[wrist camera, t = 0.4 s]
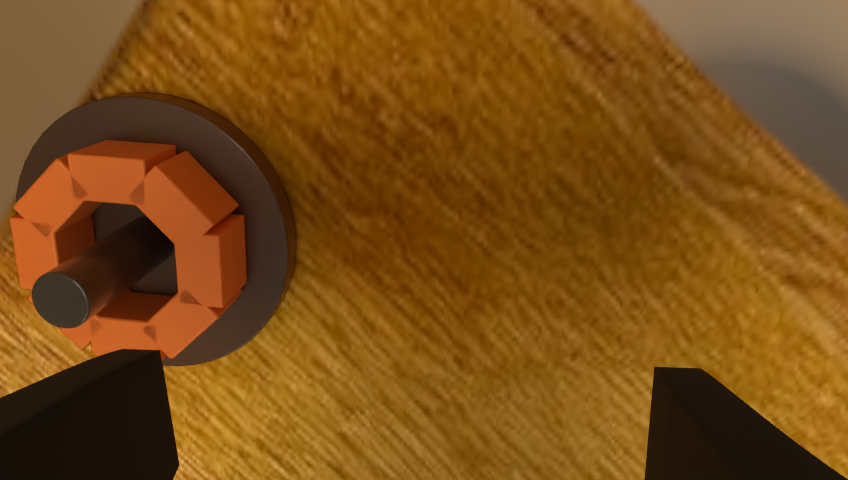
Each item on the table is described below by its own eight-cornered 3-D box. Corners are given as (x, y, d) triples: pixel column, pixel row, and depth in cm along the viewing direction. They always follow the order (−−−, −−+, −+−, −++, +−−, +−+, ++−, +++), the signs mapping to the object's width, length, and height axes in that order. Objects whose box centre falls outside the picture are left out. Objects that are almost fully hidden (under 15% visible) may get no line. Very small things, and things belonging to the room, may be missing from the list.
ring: (249, 339, 21) (226, 370, 19) (67, 321, 21) (28, 349, 20) (242, 149, 19) (214, 164, 17) (42, 134, 19) (-3, 148, 18)
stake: (298, 366, 22) (238, 470, 17) (51, 340, 22) (-72, 433, 18) (294, 102, 19) (222, 138, 14) (13, 83, 20) (-142, 111, 15)
